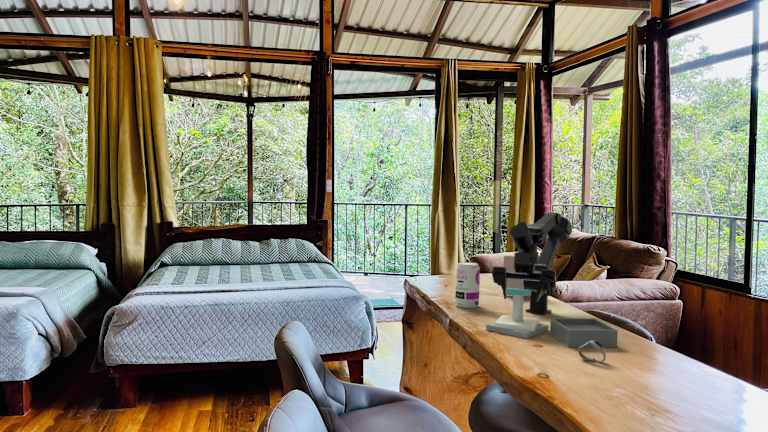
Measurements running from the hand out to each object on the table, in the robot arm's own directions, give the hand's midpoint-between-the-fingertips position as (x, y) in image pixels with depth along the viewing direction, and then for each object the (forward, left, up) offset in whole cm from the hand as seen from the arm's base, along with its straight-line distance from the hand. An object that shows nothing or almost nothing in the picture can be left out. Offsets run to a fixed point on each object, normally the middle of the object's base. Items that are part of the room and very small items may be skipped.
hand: (520, 299), depth 159 cm
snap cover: (+4, +1, -7) cm, 8 cm away
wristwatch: (+17, +28, -8) cm, 34 cm away
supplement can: (-13, -28, -8) cm, 32 cm away
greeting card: (-43, -26, -8) cm, 51 cm away
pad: (+4, +1, -8) cm, 9 cm away
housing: (+1, +19, -8) cm, 21 cm away
